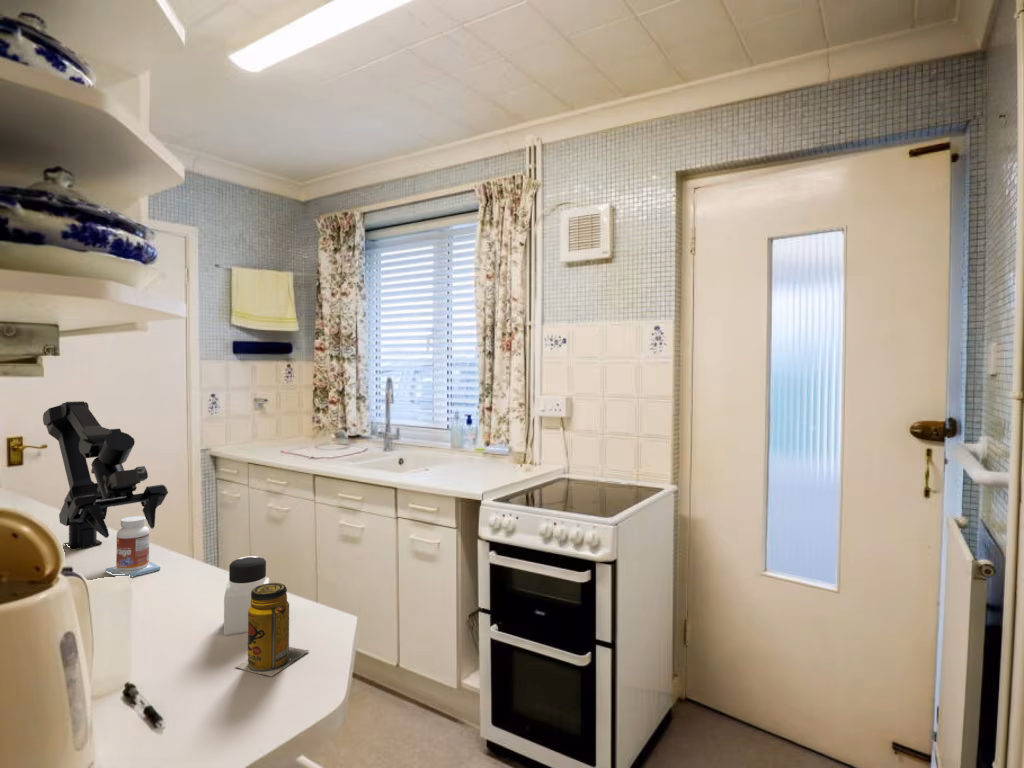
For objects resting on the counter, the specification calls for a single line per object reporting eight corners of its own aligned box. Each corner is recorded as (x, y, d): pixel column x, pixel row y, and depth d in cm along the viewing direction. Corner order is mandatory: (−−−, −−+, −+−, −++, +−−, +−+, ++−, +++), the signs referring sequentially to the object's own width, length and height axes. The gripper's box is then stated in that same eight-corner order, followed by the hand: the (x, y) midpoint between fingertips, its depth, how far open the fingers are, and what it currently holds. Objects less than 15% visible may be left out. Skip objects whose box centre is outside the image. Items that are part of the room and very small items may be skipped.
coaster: (105, 572, 126) (105, 568, 126) (145, 562, 133) (145, 558, 133) (120, 580, 122) (120, 576, 122) (160, 570, 128) (160, 566, 128)
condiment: (234, 668, 88) (235, 592, 87) (275, 643, 96) (276, 574, 95) (271, 678, 85) (272, 599, 85) (309, 652, 93) (310, 580, 93)
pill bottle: (109, 569, 126) (109, 520, 125) (136, 560, 131) (136, 513, 131) (128, 573, 123) (128, 523, 123) (155, 564, 129) (155, 516, 129)
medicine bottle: (268, 630, 100) (269, 563, 100) (223, 636, 98) (224, 568, 97) (268, 613, 107) (269, 551, 107) (226, 619, 104) (227, 555, 104)
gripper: (72, 460, 122) (92, 520, 117) (165, 451, 138) (186, 503, 132) (59, 491, 127) (77, 549, 121) (149, 479, 143) (170, 530, 137)
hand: (130, 532), depth 128 cm, fingers open, 9 cm apart
